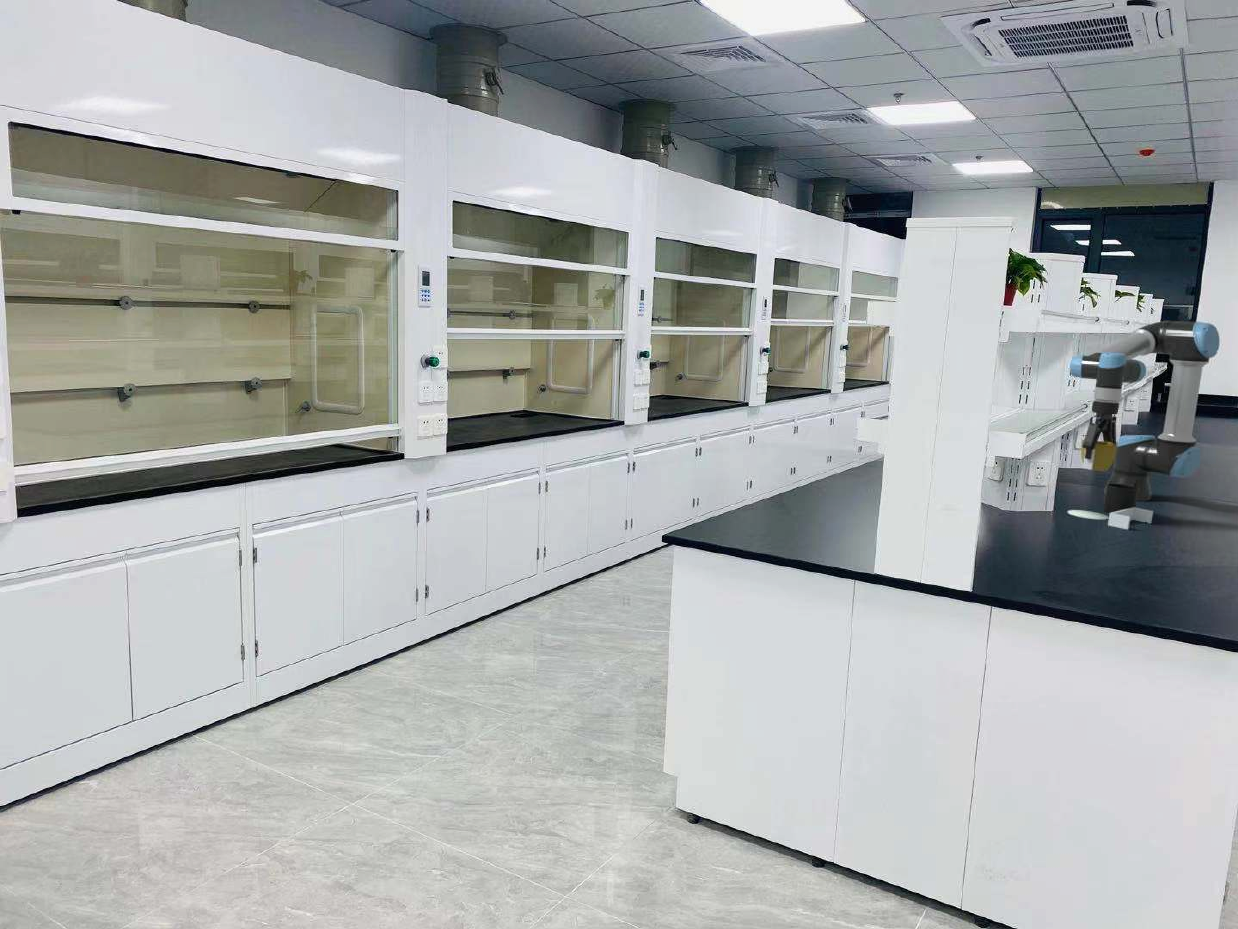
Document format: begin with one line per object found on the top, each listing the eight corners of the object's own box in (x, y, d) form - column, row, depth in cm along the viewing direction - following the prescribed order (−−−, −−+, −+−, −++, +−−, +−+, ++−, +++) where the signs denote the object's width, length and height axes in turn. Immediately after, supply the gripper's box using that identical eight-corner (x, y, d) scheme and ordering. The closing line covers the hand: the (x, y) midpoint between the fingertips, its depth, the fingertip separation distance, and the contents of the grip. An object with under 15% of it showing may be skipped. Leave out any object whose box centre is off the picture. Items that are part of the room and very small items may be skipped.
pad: (1077, 509, 301) (1077, 508, 301) (1114, 517, 292) (1115, 516, 292) (1061, 513, 294) (1061, 512, 294) (1098, 521, 285) (1098, 520, 285)
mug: (1141, 513, 302) (1145, 487, 300) (1128, 517, 294) (1132, 490, 292) (1111, 507, 309) (1115, 481, 307) (1098, 511, 301) (1102, 485, 299)
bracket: (1132, 519, 291) (1133, 507, 290) (1151, 523, 286) (1153, 511, 286) (1107, 525, 280) (1109, 512, 279) (1127, 529, 275) (1129, 516, 274)
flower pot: (1114, 473, 285) (1119, 445, 283) (1085, 471, 287) (1089, 443, 285) (1105, 468, 294) (1109, 441, 292) (1077, 466, 295) (1081, 439, 294)
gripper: (1110, 398, 296) (1100, 462, 300) (1077, 400, 281) (1067, 468, 285) (1134, 401, 291) (1123, 466, 295) (1102, 403, 276) (1091, 472, 280)
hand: (1095, 467), depth 290 cm, fingers closed on flower pot, 12 cm apart
